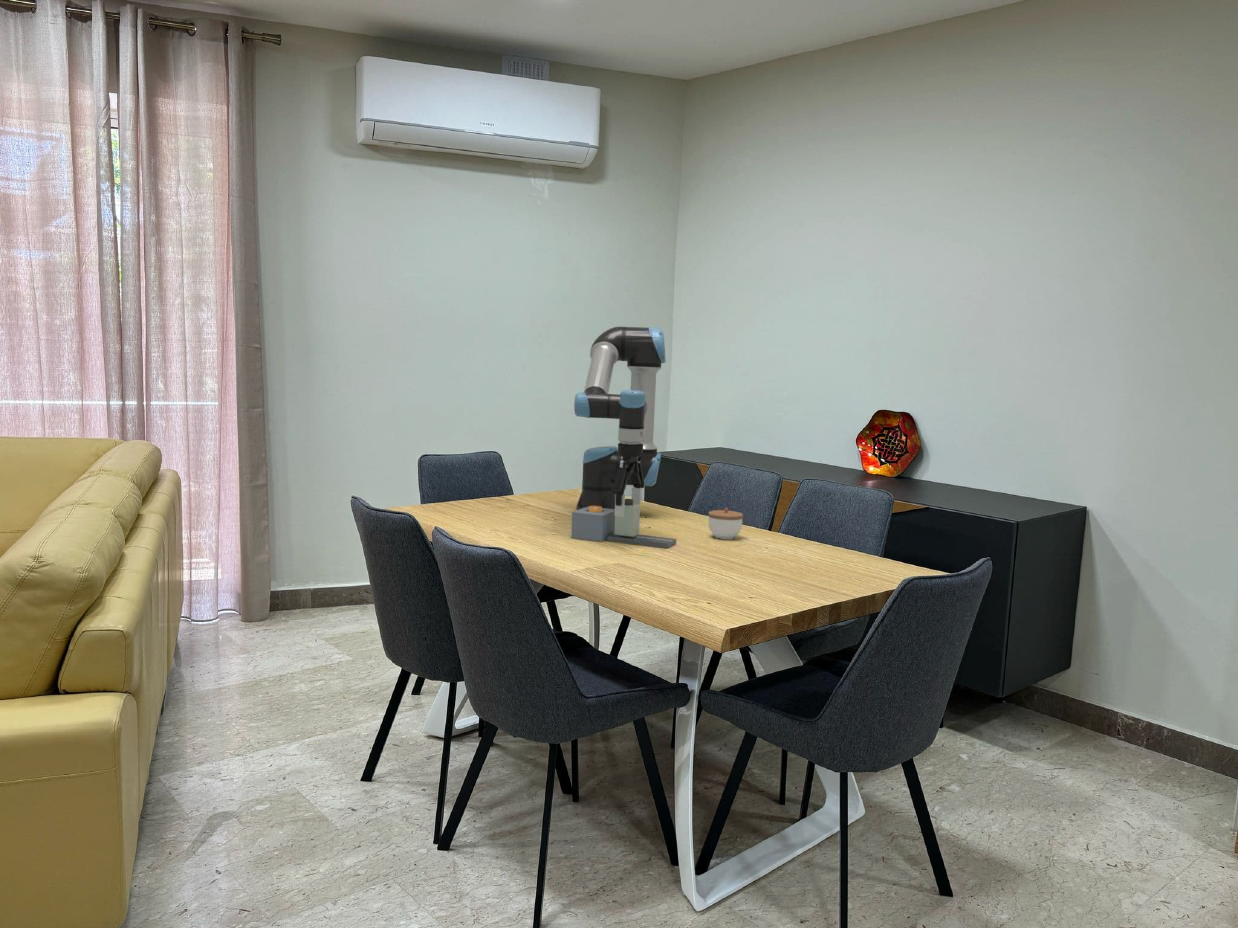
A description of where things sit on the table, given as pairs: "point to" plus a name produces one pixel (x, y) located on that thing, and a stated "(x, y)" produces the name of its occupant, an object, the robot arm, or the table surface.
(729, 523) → the lidded jar
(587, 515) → the grey block
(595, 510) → the button
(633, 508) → the carriage
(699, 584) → the table surface
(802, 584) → the table surface
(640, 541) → the rail board
